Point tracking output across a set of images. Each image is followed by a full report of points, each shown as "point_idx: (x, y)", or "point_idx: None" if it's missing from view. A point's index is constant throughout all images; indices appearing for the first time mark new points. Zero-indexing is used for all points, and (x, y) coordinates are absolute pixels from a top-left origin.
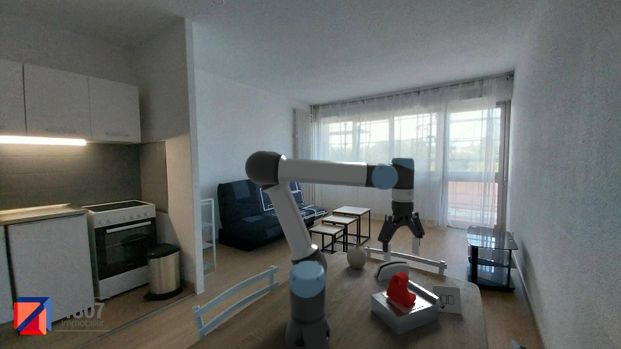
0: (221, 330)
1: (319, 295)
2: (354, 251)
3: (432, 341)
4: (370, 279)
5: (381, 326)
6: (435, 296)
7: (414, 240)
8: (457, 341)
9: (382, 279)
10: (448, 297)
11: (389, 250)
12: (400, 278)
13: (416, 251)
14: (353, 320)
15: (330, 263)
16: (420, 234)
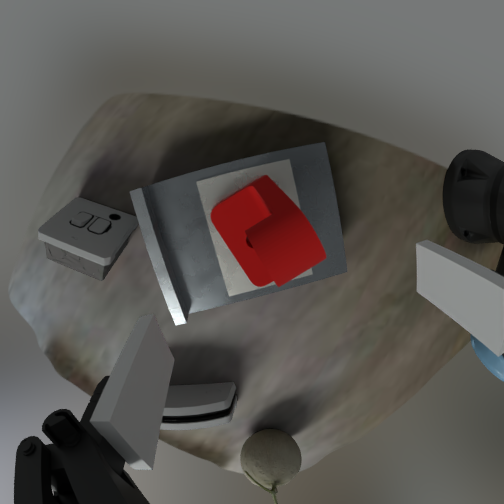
0: None
1: None
2: (289, 469)
3: (227, 107)
4: (256, 388)
5: (334, 185)
6: (136, 201)
7: (142, 426)
8: (161, 100)
9: (222, 383)
10: (84, 222)
11: (481, 267)
12: (307, 219)
13: (151, 341)
14: (389, 223)
15: (325, 445)
16: (63, 455)
